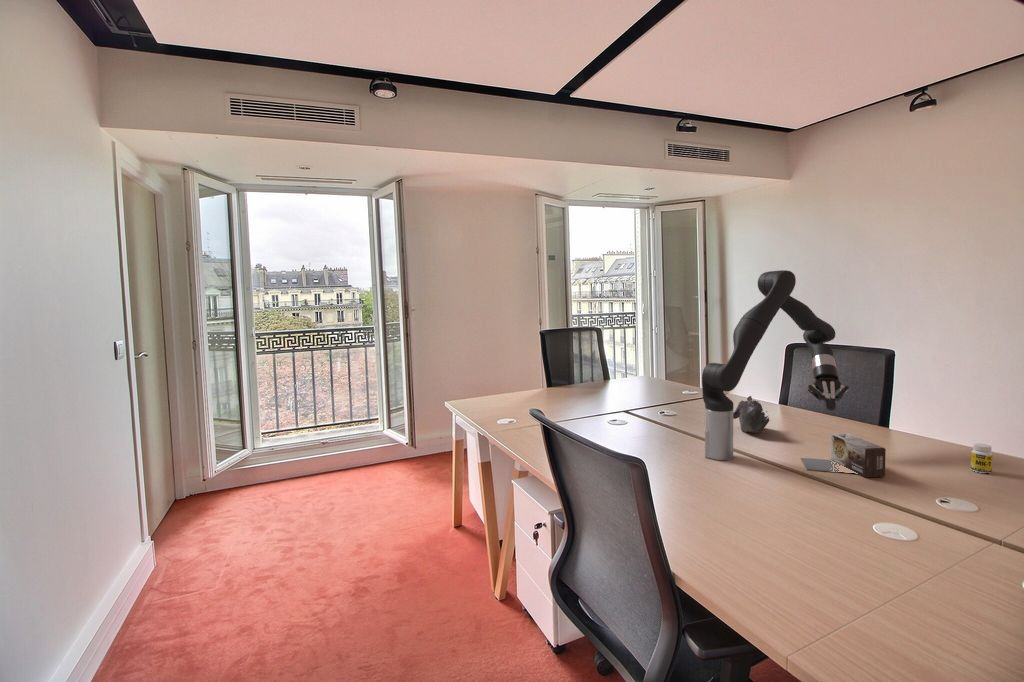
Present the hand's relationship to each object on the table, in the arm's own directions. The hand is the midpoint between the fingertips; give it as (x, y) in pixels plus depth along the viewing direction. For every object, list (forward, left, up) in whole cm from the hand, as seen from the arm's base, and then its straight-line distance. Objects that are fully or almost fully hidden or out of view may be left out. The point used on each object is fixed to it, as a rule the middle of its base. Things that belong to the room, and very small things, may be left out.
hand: (831, 409), depth 171 cm
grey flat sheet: (0, -14, -16) cm, 21 cm away
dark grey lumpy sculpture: (-23, +21, -16) cm, 35 cm away
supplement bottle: (+39, -6, -16) cm, 42 cm away
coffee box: (+1, -6, -11) cm, 13 cm away
